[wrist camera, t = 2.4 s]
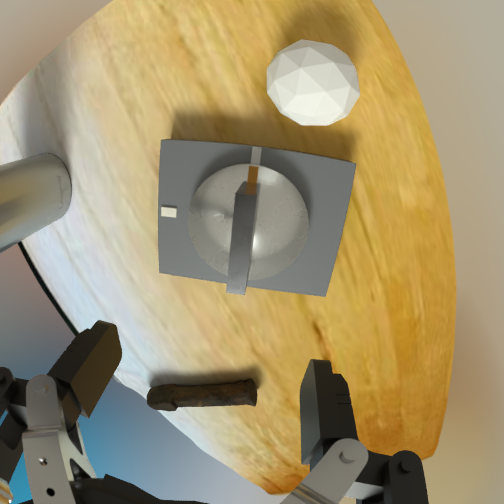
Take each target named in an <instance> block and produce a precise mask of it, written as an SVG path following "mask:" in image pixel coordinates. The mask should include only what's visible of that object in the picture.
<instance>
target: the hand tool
mask: <svg viewBox="0 0 504 504" xmlns="http://www.w3.org/2000/svg"><path fill="white" fill-rule="evenodd" d="M256 403H257V389H256V386H255V383H254V381H253V380H252V379H250V380H248V381H247V382H244V381H242V380H240V381H239V383H234V384H224V385H206V386H194V387H179V386H177V385H176V384H167V385H162V386H157V387H154V388H151V389H150V390H149V392H148V394H147V404H148V405H149V406H150V407H151V408H153V409H156V410H166V411H176V409H177V408H178V407H205V406H231V405H246V404H247V405H252V406H256Z"/></svg>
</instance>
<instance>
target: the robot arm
mask: <svg viewBox="0 0 504 504" xmlns="http://www.w3.org/2000/svg"><path fill="white" fill-rule="evenodd" d="M70 199H71V183H70V178H69V174H68V172H67V170H66V167H65V166H64V164H63V163H62V161H61V160H60V159H59V158H58V157H56V156H55V155H53V154H49V153H48V154H41V155H37V156H33V157H29V158H25V159H21V160H17V161H14V162H10V163H7V164H4V165H0V254H1V253H2V252H4V251H6V250H7V249H8V248H10V247H12V246H13V245H15V244H17V243H18V242H20V241H21V240H23V239H25V238H26V237H28V236H30V235H31V234H33V233H35V232H37V231H38V230H40V229H42V228H44V227H45V226H47V225H49V224H51V223H52V222H54V221H56V220H58V219H60V218H61V217H62V216H63V215H64V214H65V213H66V211H67V209H68V207H69V204H70ZM121 358H122V348H121V344H120V340H119V335H118V331H117V327H116V325H115V324H112V323H108V322H105V321H101V320H98V321H97V322H96V323H95V324H94V325H93V327H92V328H91V329H86V330H84V331H82V332H81V333H79V334H78V335H77V336H76V337H75V339H74V340H73V341H72V342H71V344H70V345H69V346H68V347H67V349H66V351H64V352H63V354H62V355H61V356H60V358H59V359H58V361H57V362H56V363H55V364H54V366H53V367H52V368H51V370H50V371H49V373H47V375H45V374H40V375H36V376H34V377H32V378H31V379H30V380H24V379H19V378H14V376H13V374H12V373H11V371H10V370H9V369H7V368H5V367H0V418H1V416H2V415H3V413H4V411H5V410H6V411H7V412H8V414H7V416H6V417H5V419H4V421H3V423H2V424H1V426H0V504H9V502H11V501H12V500H13V495H12V493H11V492H10V488H9V485H8V484H9V482H10V480H11V477H12V475H13V472H14V470H15V468H16V466H17V463H18V461H19V459H20V457H21V455H22V452H23V450H24V458H25V464H26V470H27V475H28V481H29V485H30V490H31V494H32V498H33V499H31V500H28V501H25V502H22V503H19V504H208V503H202V502H197V501H174V500H160V499H158V498H156V497H154V496H152V495H151V494H149V493H147V492H145V491H143V490H141V489H140V488H138V487H137V486H135V485H133V484H131V483H128V482H126V481H123V480H120V479H118V478H115V477H113V476H110V475H108V474H105V476H104V479H103V478H97V477H96V474H95V472H94V470H93V468H92V466H91V464H90V462H89V460H88V458H87V455H86V451H85V448H84V444H83V440H82V436H81V432H80V428H79V423H78V420H77V419H78V417H79V415H82V416H85V417H87V418H89V417H90V415H91V413H92V411H93V410H94V408H95V406H96V404H97V402H98V400H99V399H100V397H101V395H102V393H103V391H104V390H105V388H106V386H107V384H108V382H109V381H110V379H111V377H112V376H113V374H114V372H115V370H116V369H117V367H118V365H119V363H120V361H121ZM349 395H350V393H349V388H348V384H347V382H346V381H345V379H344V378H343V376H342V375H341V374H333V372H332V367H331V362H330V361H329V360H316V359H311V360H310V362H309V365H308V367H307V370H306V373H305V375H304V378H303V381H302V384H301V388H300V419H301V462H302V464H310V473H309V474H308V475H307V476H306V477H305V478H304V480H303V481H302V482H301V483H300V484H299V485H298V486H297V487H296V488H295V489H294V490H293V491H292V492H291V493H290V494H289V495H288V496H287V497H286V498H285V499H284V500H283V501H282V502H281V503H280V504H338V503H339V502H340V501H341V499H342V498H343V497H344V496H346V497H351V498H356V504H429V503H428V495H427V489H426V483H425V477H424V471H423V466H422V462H421V459H420V458H419V456H418V455H417V454H415V453H414V452H411V451H407V450H403V451H399V452H397V453H395V454H394V455H393V456H388V455H383V454H378V453H374V452H371V451H369V450H367V449H366V447H365V446H364V445H363V444H362V443H361V442H359V439H358V436H357V431H356V425H355V419H354V414H353V409H352V405H351V398H350V396H349Z"/></svg>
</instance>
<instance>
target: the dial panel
mask: <svg viewBox="0 0 504 504" xmlns="http://www.w3.org/2000/svg"><path fill="white" fill-rule="evenodd" d="M244 163H250V164H259V165H264V166H267V167H270V168H272V169H274V170H276V171H278V172H280V173H281V174H283V175H284V176H286V177H287V178H288V179H289V180H290V181H291V182H292V183H293V184H294V185H295V186H296V188H297V189H298V191H299V192H300V194H301V196H302V198H303V200H304V203H305V205H306V209H307V212H308V219H309V229H308V236H307V239H306V243H305V245H304V247H303V249H302V251H301V253H300V254H299V256H298V257H297V258H296V260H295V261H294V262H293V263H292V264H291V265H290V266H289V267H287V268H286V269H284V270H283V271H281V272H280V273H278V274H276V275H273V276H271V277H267V278H264V279H258V280H248V281H247V287H254V288H261V289H268V290H276V291H283V292H291V293H299V294H307V295H315V296H323V297H325V296H326V293H327V289H328V286H329V282H330V279H331V275H332V271H333V267H334V264H335V260H336V256H337V252H338V248H339V244H340V240H341V235H342V231H343V227H344V222H345V218H346V213H347V209H348V204H349V199H350V195H351V190H352V184H353V179H354V174H355V168H356V163H353V162H351V161H347V160H342V159H337V158H332V157H327V156H322V155H316V154H311V153H305V152H299V151H293V150H286V149H279V148H272V147H264V146H256V145H248V144H238V143H228V142H216V141H203V140H186V139H164V140H161V149H160V166H159V195H158V249H159V273H164V274H170V275H176V276H182V277H188V278H194V279H200V280H207V281H213V282H220V283H226V284H227V276H226V275H224V274H222V273H220V272H218V271H217V270H215V269H213V268H212V267H211V266H210V265H208V264H207V263H206V262H205V261H204V260H203V259H202V258H201V256H200V255H199V254H198V252H197V251H196V249H195V247H194V245H193V243H192V241H191V238H190V235H189V230H188V211H189V207H190V203H191V201H192V198H193V196H194V194H195V193H196V191H197V189H198V188H199V187H200V186H201V184H202V183H203V182H204V181H205V180H206V179H207V178H209V177H210V176H211V175H213V174H214V173H216V172H217V171H219V170H221V169H223V168H226V167H229V166H232V165H236V164H244Z"/></svg>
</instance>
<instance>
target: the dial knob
mask: <svg viewBox="0 0 504 504" xmlns="http://www.w3.org/2000/svg"><path fill="white" fill-rule="evenodd" d="M308 229H309V219H308V212H307V209H306V205H305V203H304V200H303V198H302V196H301V194H300V192H299V191H298V189H297V188H296V186H295V185H294V184H293V183H292V182H291V181H290V180H289V179H288V178H287V177H286V176H284V175H283V174H281V173H280V172H278V171H276V170H274V169H272V168H270V167H267V166H264V165H259V164H250V163H244V164H236V165H232V166H229V167H226V168H223V169H221V170H219V171H217V172H216V173H214V174H213V175H211V176H210V177H209V178H207V179H206V180H205V181H204V182H203V183H202V184H201V186H200V187H199V188H198V189H197V191H196V193H195V194H194V196H193V198H192V201H191V203H190V207H189V211H188V230H189V235H190V238H191V241H192V243H193V245H194V247H195V249H196V251H197V252H198V254H199V255H200V256H201V258H202V259H203V260H204V261H205V262H206V263H207V264H208V265H210V266H211V267H212V268H213V269H215V270H217V271H218V272H220V273H222V274H224V275H226V276H227V288H226V293H233V294H240V295H245V292H246V286H247V281H248V280H258V279H264V278H267V277H271V276H273V275H276V274H278V273H280V272H281V271H283V270H284V269H286V268H287V267H289V266H290V265H291V264H292V263H293V262H294V261H295V260H296V258H297V257H298V256H299V254H300V253H301V251H302V249H303V247H304V245H305V243H306V239H307V236H308Z"/></svg>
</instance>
